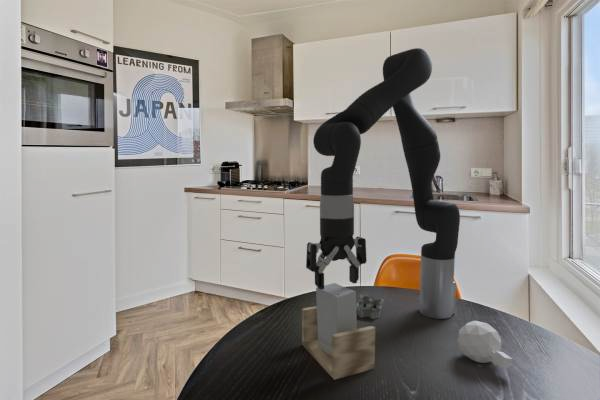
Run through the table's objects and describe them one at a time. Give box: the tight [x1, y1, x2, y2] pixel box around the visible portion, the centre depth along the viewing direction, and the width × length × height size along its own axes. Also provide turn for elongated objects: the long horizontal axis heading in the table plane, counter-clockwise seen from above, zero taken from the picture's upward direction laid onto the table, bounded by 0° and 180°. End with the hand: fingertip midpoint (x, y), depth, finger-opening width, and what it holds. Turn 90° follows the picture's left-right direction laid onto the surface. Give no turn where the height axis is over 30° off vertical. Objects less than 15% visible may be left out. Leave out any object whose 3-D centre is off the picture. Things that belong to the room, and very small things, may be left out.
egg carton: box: [356, 292, 384, 320], centre depth 110 cm, size 10×7×4 cm
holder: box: [301, 305, 376, 381], centre depth 85 cm, size 10×16×9 cm, turn 24°
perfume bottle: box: [457, 320, 513, 369], centre depth 82 cm, size 9×9×12 cm
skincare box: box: [315, 282, 358, 356], centre depth 84 cm, size 8×6×15 cm
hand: (337, 285), depth 83 cm, fingers open, 8 cm apart
